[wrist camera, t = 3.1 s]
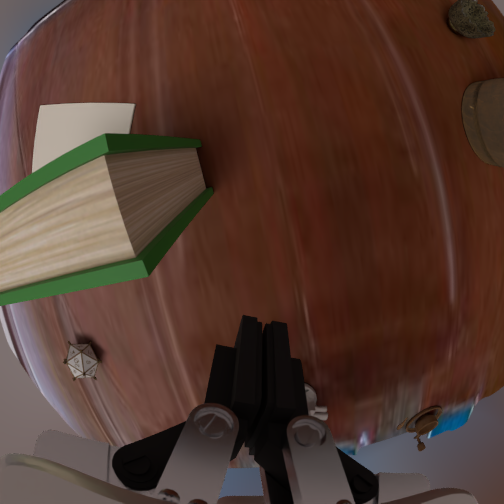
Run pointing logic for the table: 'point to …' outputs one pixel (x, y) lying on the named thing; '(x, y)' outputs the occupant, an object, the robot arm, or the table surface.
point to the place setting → (423, 424)
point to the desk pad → (76, 127)
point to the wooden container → (485, 119)
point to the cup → (469, 19)
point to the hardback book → (98, 214)
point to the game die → (82, 361)
